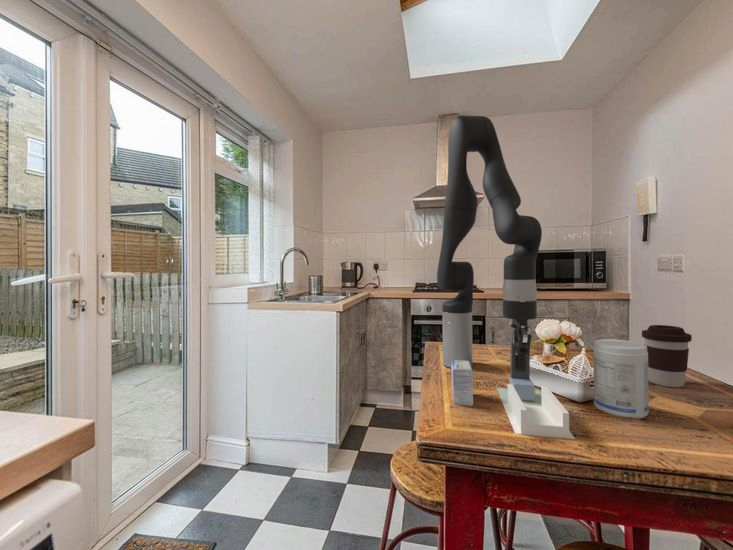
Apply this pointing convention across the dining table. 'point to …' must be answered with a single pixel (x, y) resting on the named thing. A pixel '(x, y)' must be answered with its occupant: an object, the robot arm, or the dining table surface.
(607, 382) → the supplement tub
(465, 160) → the robot arm
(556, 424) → the lane fixture
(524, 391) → the lane block
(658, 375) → the coffee cup
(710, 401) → the dining table surface
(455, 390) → the medicine box
